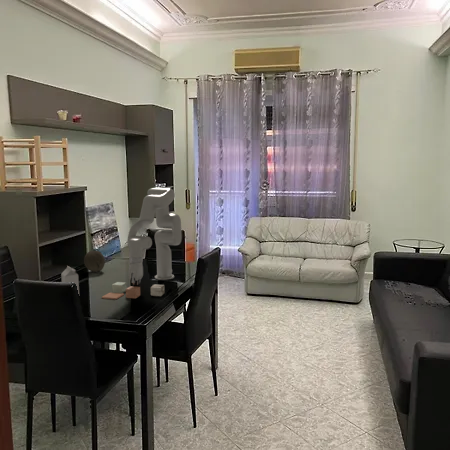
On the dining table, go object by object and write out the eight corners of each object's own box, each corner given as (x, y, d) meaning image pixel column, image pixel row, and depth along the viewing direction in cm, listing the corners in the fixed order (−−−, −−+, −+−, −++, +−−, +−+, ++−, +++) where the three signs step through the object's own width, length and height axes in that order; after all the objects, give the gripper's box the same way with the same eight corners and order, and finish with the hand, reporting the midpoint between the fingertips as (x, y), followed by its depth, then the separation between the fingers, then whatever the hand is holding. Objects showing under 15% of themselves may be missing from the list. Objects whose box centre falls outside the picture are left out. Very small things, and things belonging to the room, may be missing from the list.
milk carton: (66, 303, 245) (64, 269, 242) (62, 300, 250) (60, 266, 248) (79, 301, 249) (77, 267, 246) (75, 297, 255) (73, 264, 252)
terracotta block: (130, 294, 260) (130, 286, 260) (140, 295, 259) (140, 286, 258) (125, 297, 255) (125, 289, 254) (135, 298, 253) (135, 289, 252)
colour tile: (109, 293, 262) (109, 292, 262) (123, 294, 260) (123, 293, 260) (101, 298, 253) (101, 296, 253) (116, 299, 251) (116, 298, 251)
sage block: (117, 290, 270) (117, 281, 269) (126, 290, 269) (126, 282, 268) (112, 292, 264) (112, 284, 264) (121, 293, 263) (121, 285, 262)
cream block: (154, 292, 264) (154, 284, 264) (164, 293, 263) (164, 285, 262) (150, 295, 259) (150, 287, 258) (160, 296, 257) (160, 287, 256)
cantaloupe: (108, 269, 321) (107, 248, 318) (101, 274, 307) (100, 252, 304) (89, 269, 322) (88, 248, 320) (80, 274, 308) (79, 252, 306)
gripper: (135, 256, 267) (136, 287, 270) (124, 262, 253) (125, 294, 255) (147, 257, 265) (148, 287, 268) (136, 263, 251) (137, 295, 254)
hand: (137, 290), depth 262 cm, fingers closed
